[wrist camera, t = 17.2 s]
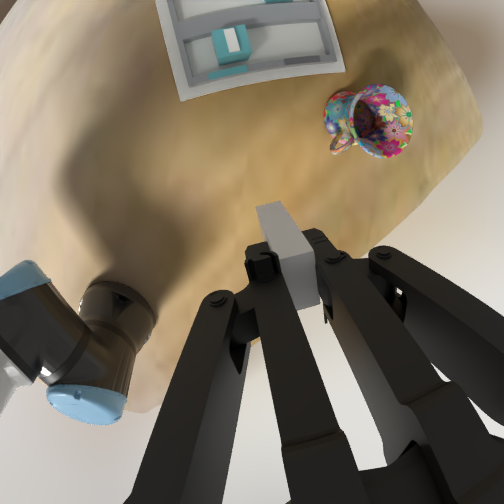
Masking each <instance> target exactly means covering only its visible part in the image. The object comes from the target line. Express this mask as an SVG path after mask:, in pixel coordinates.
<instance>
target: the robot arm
mask: <svg viewBox="0 0 504 504" xmlns="http://www.w3.org/2000/svg"><path fill="white" fill-rule="evenodd" d="M256 210H257V215H258V219H259V223H260V227H261V231H262V235H263V240H264V242H261V243H258V244H254V245H250V246H248V247H247V249H246V251H245V255H246V260H245V263H244V264H245V268H246V271H247V275H248V278H249V284H248V285H247V287H246V288H244V289H243V290H242V291H240V292H238V293H236V294H233V293H232V292H231V291H229V290H218V291H214V292H212V293H210V294H208V295H207V296H206V297H205V298H204V299H203V301H202V303H201V305H200V307H199V310H198V312H197V315H196V317H195V320H194V322H193V325H192V327H191V330H190V333H189V335H188V338H187V340H186V343H185V345H184V348H183V350H182V353H181V356H180V358H179V361H178V363H177V366H176V369H175V371H174V374H173V377H172V379H171V382H170V385H169V387H168V390H167V393H166V395H165V398H164V401H163V403H162V406H161V409H160V412H159V414H158V417H157V420H156V423H155V426H154V428H153V431H152V434H151V437H150V439H149V443H148V445H147V448H146V451H145V454H144V457H143V460H142V463H141V466H140V469H139V472H138V474H137V478H136V480H135V483H134V486H133V489H132V493H131V494H130V496H129V497H128V498H127V499H126V501H125V502H124V503H123V504H222V500H223V495H224V490H225V485H226V479H227V475H228V469H229V464H230V459H231V453H232V448H233V443H234V437H235V432H236V426H237V421H238V415H239V409H240V404H241V399H242V393H243V387H244V382H245V376H246V370H247V365H248V359H249V353H250V347H251V342H250V341H252V340H254V339H256V338H258V337H260V338H261V344H262V349H263V354H264V359H265V364H266V369H267V374H268V379H269V383H270V389H271V394H272V399H273V404H274V409H275V414H276V418H277V423H278V428H279V433H280V437H281V444H282V447H281V451H282V457H283V463H284V468H285V473H286V478H287V483H288V488H289V492H290V497H291V500H290V501H289V502H287V503H286V504H504V439H503V438H500V437H497V436H494V435H491V434H489V432H488V430H487V429H486V427H485V425H484V423H483V422H482V420H481V418H480V417H479V415H478V413H477V411H476V410H475V408H474V407H473V405H472V403H471V402H470V400H469V398H470V399H471V400H472V401H473V402H474V403H475V404H476V405H477V406H478V407H479V408H480V409H481V410H482V411H483V412H484V413H486V414H487V415H488V416H489V417H490V418H492V419H493V420H494V421H496V422H497V423H499V424H501V425H503V426H504V317H503V316H502V315H501V314H499V313H498V312H496V311H495V310H493V309H492V308H491V307H489V306H488V305H486V304H485V303H483V302H482V301H480V300H479V299H477V298H476V297H474V296H473V295H471V294H470V293H468V292H467V291H465V290H464V289H462V288H461V287H459V286H457V285H456V284H454V283H453V282H451V281H450V280H448V279H446V278H445V277H443V276H441V275H440V274H438V273H436V272H435V271H433V270H431V269H430V268H428V267H427V266H425V265H423V264H421V263H420V262H418V261H416V260H415V259H413V258H411V257H409V256H407V255H406V254H404V253H402V252H401V251H399V250H397V249H395V248H393V247H390V246H377V247H374V248H373V249H371V250H370V251H369V254H368V258H362V259H352V258H351V257H350V255H349V254H348V253H346V252H344V251H341V250H337V249H336V248H335V247H334V246H333V244H332V243H331V242H330V241H329V240H328V238H327V237H326V236H325V235H324V233H323V232H322V231H320V230H318V229H316V228H313V229H309V230H305V231H301V230H300V229H299V228H298V226H297V225H296V223H295V222H294V220H293V219H292V217H291V216H290V214H289V213H288V212H287V210H286V209H285V207H284V206H283V204H282V203H281V202H280V201H277V202H273V203H269V204H265V205H261V206H257V207H256ZM397 288H398V289H400V290H401V291H402V295H400V294H399V293H397ZM319 295H320V296H319ZM320 297H321V299H322V301H323V309H324V319H325V324H326V323H327V319H328V320H329V322H330V325H331V326H332V329H333V331H334V333H335V335H336V337H337V339H338V341H339V343H340V346H341V348H342V350H343V352H344V354H345V356H346V358H347V361H348V363H349V365H350V367H351V369H352V372H353V374H354V376H355V378H356V380H357V383H358V385H359V387H360V389H361V392H362V394H363V396H364V398H365V401H366V403H367V405H368V408H369V410H370V412H371V414H372V417H373V419H374V421H375V424H376V426H377V429H378V431H379V433H380V436H381V438H382V442H383V451H384V456H385V459H386V463H387V465H388V466H386V467H381V468H375V469H369V470H362V471H358V468H357V465H356V462H355V459H354V456H353V453H352V451H351V448H350V445H349V442H348V440H347V437H346V435H345V433H344V431H342V430H341V429H340V427H339V425H338V422H337V419H336V417H335V414H334V411H333V408H332V405H331V403H330V400H329V397H328V394H327V392H326V389H325V386H324V383H323V380H322V378H321V375H320V372H319V369H318V367H317V364H316V361H315V358H314V356H313V353H312V350H311V348H310V345H309V342H308V340H307V337H306V334H305V332H304V329H303V326H302V324H301V322H300V319H299V316H298V313H297V310H301V309H305V308H308V307H312V306H315V305H318V304H320ZM153 324H154V317H153V313H152V310H151V308H150V306H149V305H148V303H147V302H146V301H145V299H144V298H143V297H142V296H141V295H140V294H138V293H137V292H136V291H134V290H133V289H131V288H129V287H127V286H125V285H123V284H120V283H116V282H99V283H96V284H94V285H92V286H90V287H89V288H88V289H87V291H86V292H85V294H84V295H83V297H82V299H81V301H80V304H79V316H78V315H77V313H76V312H75V311H74V310H73V309H72V308H71V306H70V305H69V304H68V303H67V302H66V300H65V299H64V298H63V297H62V295H61V294H60V293H59V291H58V290H57V289H56V288H55V286H54V285H53V284H52V282H51V279H50V278H48V277H47V276H46V275H45V274H44V273H43V271H42V270H41V269H40V268H39V266H38V265H37V264H36V263H35V262H34V261H31V260H24V261H22V262H20V263H19V264H17V265H16V266H14V267H13V268H12V269H10V270H9V271H8V272H6V273H5V274H4V275H2V276H1V277H0V416H1V414H2V412H3V410H4V409H5V407H6V405H7V403H8V402H9V400H10V398H11V396H12V395H13V393H14V391H15V390H16V388H17V387H19V386H31V385H32V384H33V383H34V381H35V379H36V378H37V376H38V377H39V378H40V379H41V380H42V381H43V382H44V383H45V384H47V385H48V388H47V390H46V393H47V395H46V396H47V400H48V401H49V402H50V404H51V405H52V406H53V407H54V408H55V409H56V410H58V411H59V412H61V413H62V414H64V415H66V416H68V417H70V418H73V419H75V420H78V421H81V422H85V423H88V424H94V425H109V424H113V423H115V422H117V421H118V420H119V419H120V418H121V416H122V413H123V409H124V406H125V404H126V402H127V395H128V390H129V385H130V380H131V375H132V371H133V366H134V362H135V358H136V354H137V353H138V352H139V351H140V349H141V348H142V347H143V345H144V344H145V343H146V342H147V341H148V339H149V338H150V336H151V333H152V329H153ZM430 362H431V363H432V364H433V365H434V366H435V367H436V368H438V369H439V370H440V371H441V372H442V373H443V374H444V375H445V376H446V377H447V378H449V379H450V380H451V381H449V382H445V381H443V380H442V379H441V378H440V376H439V375H438V373H437V372H436V370H435V369H434V367H433V366H432V364H431V363H430ZM467 396H468V397H469V398H468V397H467Z"/></svg>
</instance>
